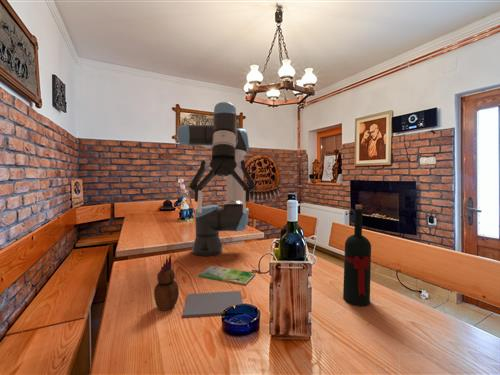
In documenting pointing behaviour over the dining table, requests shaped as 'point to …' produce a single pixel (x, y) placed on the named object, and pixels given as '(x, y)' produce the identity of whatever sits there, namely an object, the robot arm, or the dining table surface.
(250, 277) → the green number grid board
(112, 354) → the dining table surface
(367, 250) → the wine bottle
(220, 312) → the charcoal rubber mat
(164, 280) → the wooden figurine
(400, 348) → the dining table surface
